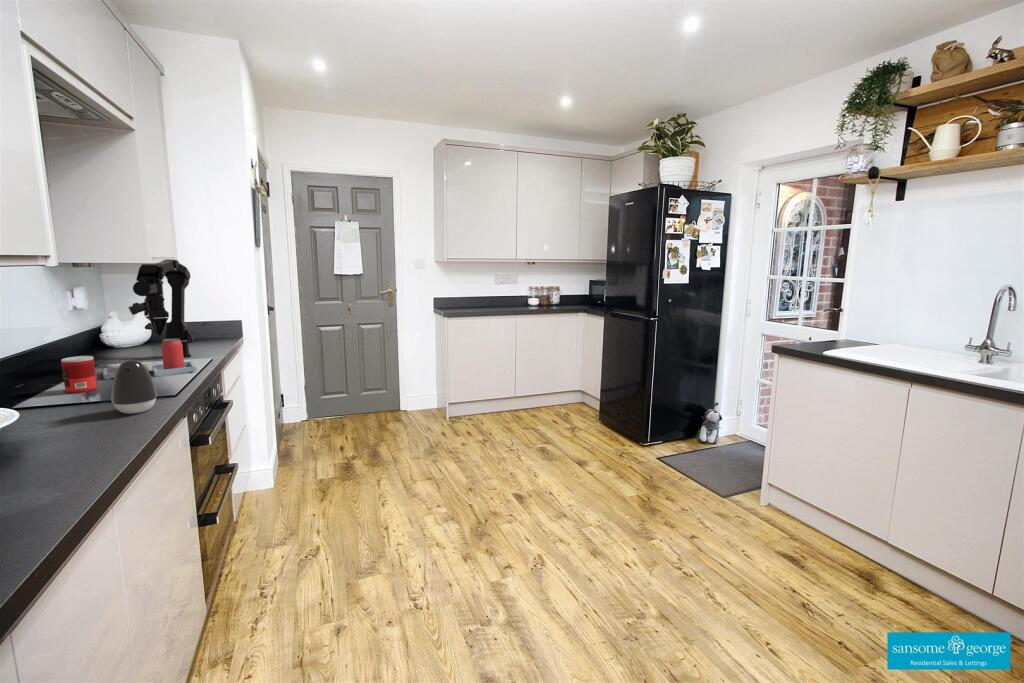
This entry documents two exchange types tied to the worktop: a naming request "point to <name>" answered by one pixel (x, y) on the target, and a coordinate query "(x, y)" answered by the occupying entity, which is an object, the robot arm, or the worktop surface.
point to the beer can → (172, 354)
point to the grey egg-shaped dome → (133, 388)
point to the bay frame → (114, 369)
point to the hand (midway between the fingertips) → (157, 334)
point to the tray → (160, 370)
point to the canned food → (79, 374)
